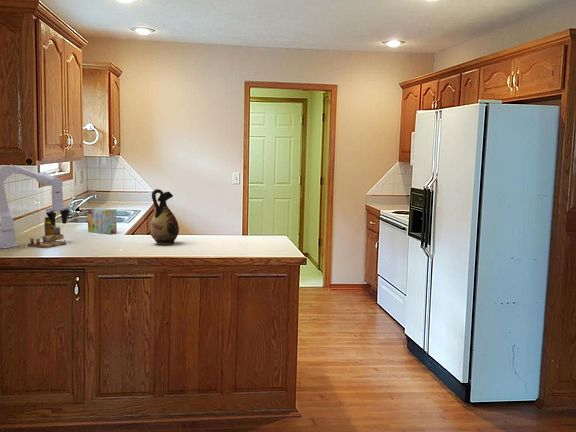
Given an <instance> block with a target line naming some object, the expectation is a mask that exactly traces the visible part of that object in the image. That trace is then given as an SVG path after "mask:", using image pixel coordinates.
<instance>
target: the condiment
mask: <svg viewBox="0 0 576 432" xmlns="http://www.w3.org/2000/svg"><path fill="white" fill-rule="evenodd" d="M43 224H44V236H50V235H54V228H55V227H56V225H57V224H56V222H55V225H51V222H50V219H49V217H48V216H45V217H44V223H43ZM40 239H42V240H43V236H40Z"/></svg>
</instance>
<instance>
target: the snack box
mask: <svg viewBox="0 0 576 432" xmlns="http://www.w3.org/2000/svg"><path fill="white" fill-rule="evenodd" d="M86 211H87V230H88V231H87V232H88V233H95V234H104V235H105V234H106V235H116V234H118V233H117V232H118V231H117V229H118V227H117V208H116V209H115V208H114V209H113V208H100V207H99V208H98V207H88V208H87V209H86Z"/></svg>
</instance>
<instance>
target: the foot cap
mask: <svg viewBox="0 0 576 432" xmlns="http://www.w3.org/2000/svg"><path fill="white" fill-rule="evenodd" d="M60 234H61V227H58V226H57V227H55V228H54V235H60Z"/></svg>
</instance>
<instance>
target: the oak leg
mask: <svg viewBox="0 0 576 432" xmlns="http://www.w3.org/2000/svg"><path fill="white" fill-rule="evenodd" d="M44 236H45V235H44ZM53 240H56V241H59V240H65V235H64V234H61V233H60V235H50V236H45V241H47V242H48V241H53Z"/></svg>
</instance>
